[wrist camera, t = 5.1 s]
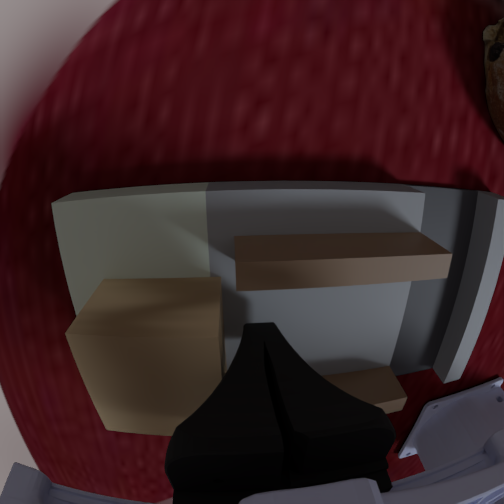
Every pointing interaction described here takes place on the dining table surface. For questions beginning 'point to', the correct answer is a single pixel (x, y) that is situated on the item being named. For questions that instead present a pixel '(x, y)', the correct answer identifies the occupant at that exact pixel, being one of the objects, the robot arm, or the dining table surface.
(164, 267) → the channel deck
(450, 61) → the dining table surface
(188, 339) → the wooden block
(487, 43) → the bread roll
